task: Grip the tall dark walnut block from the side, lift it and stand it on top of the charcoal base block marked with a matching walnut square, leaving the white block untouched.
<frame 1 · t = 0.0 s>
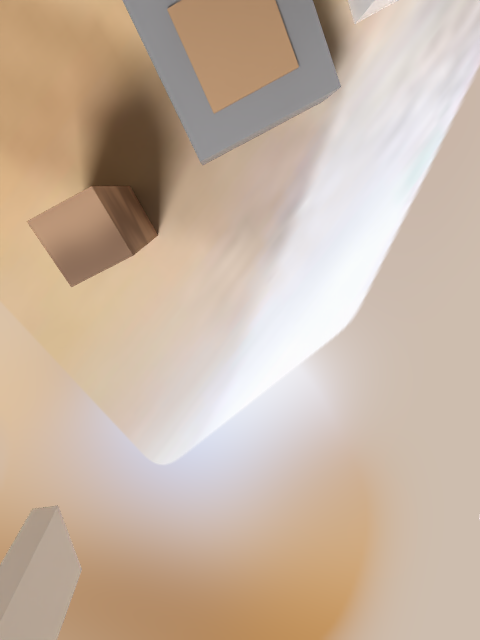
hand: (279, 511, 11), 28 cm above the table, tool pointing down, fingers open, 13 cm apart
base block: (232, 62, 31), on the table
walnut block: (121, 223, 35), on the table
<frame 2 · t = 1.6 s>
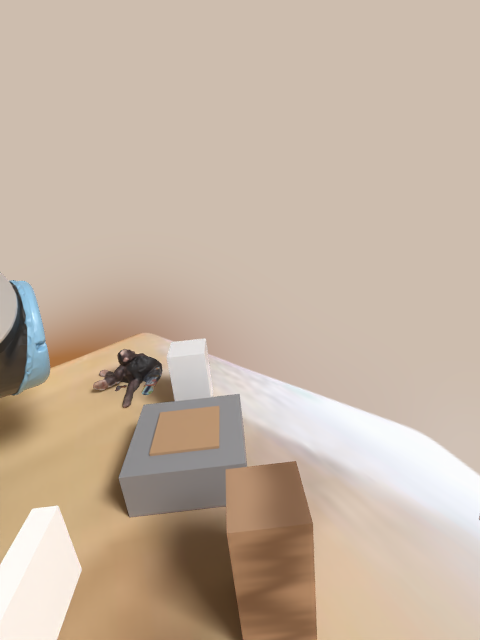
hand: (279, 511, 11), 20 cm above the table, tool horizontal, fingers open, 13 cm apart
base block: (194, 465, 41), on the table
white block: (196, 402, 54), on the table
walnut block: (275, 605, 27), on the table
stuffed animal: (131, 385, 62), on the table
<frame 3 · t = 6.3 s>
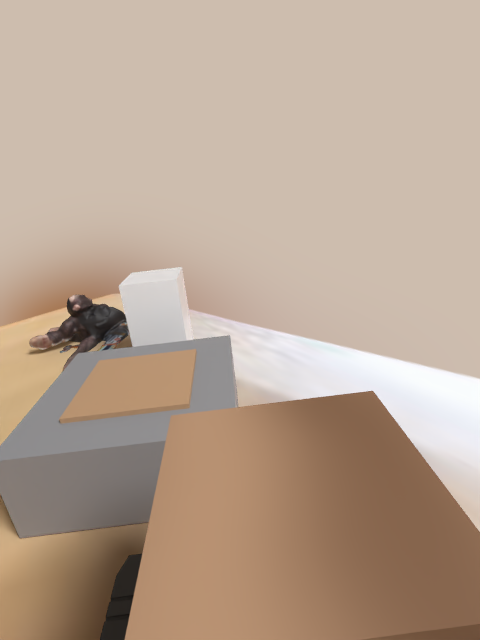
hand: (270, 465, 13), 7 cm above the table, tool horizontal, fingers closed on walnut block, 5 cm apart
base block: (153, 447, 25), on the table
white block: (169, 362, 37), on the table
stuffed animal: (87, 346, 45), on the table
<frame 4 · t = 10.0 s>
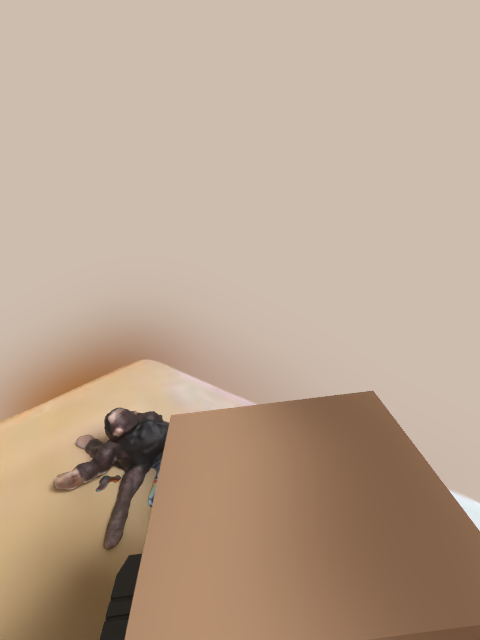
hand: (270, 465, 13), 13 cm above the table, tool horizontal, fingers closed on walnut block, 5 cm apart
stuffed animal: (130, 472, 33), on the table
when the fingers open (13 cm above the table, at t = 10.6 s): walnut block drops 1 cm, resting on base block.
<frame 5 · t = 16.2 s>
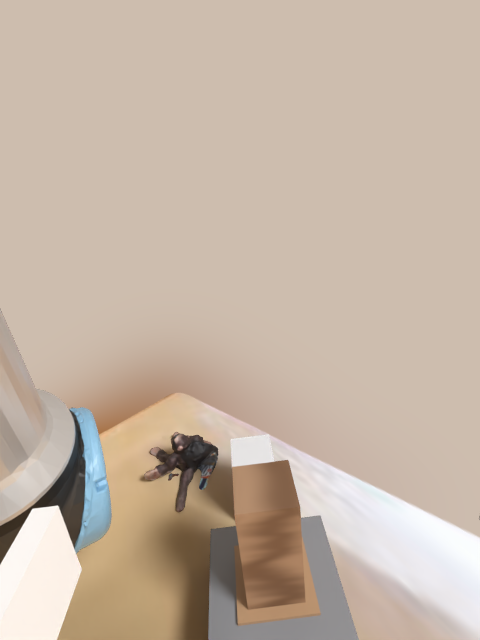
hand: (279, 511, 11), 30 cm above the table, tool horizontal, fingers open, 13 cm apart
base block: (277, 613, 36), on the table
white block: (257, 505, 48), on the table
walnut block: (272, 576, 34), point 5 cm above the table, touching base block
stuffed animal: (184, 471, 56), on the table
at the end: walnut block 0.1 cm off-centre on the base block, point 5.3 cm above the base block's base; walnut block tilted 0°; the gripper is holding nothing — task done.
